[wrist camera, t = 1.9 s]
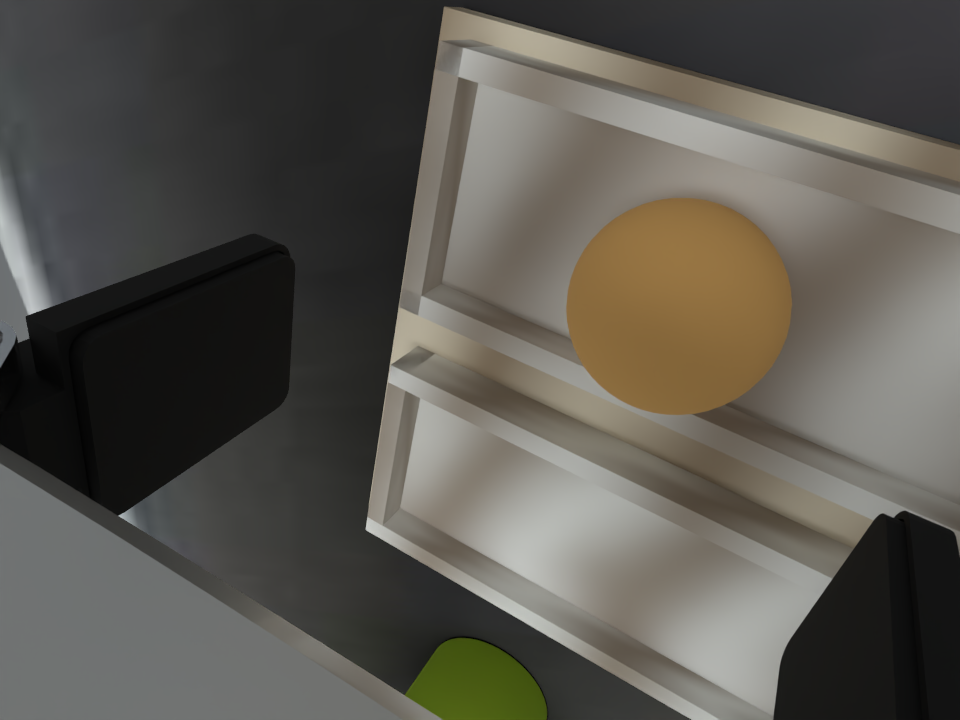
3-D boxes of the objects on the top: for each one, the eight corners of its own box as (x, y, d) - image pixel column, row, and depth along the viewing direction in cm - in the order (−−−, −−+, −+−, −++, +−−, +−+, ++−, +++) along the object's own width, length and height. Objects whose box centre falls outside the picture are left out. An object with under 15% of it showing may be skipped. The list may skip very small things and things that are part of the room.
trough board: (1620, 327, 12) (1780, 392, 10) (992, 830, 22) (1005, 917, 20) (461, 7, 20) (410, 5, 17) (382, 491, 29) (343, 528, 27)
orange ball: (839, 218, 16) (826, 284, 12) (752, 392, 18) (718, 493, 14) (637, 153, 17) (566, 191, 13) (584, 321, 20) (510, 395, 16)
